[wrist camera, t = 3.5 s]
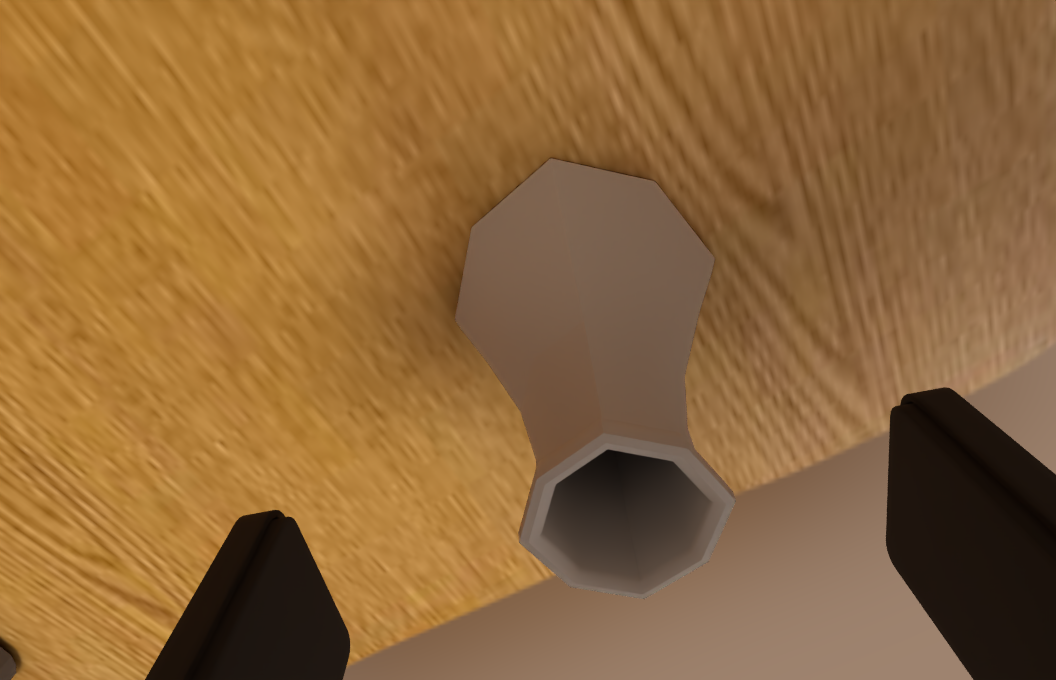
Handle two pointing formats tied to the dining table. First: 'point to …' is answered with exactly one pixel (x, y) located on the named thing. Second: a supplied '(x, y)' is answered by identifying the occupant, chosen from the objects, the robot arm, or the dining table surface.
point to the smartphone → (6, 665)
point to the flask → (599, 372)
